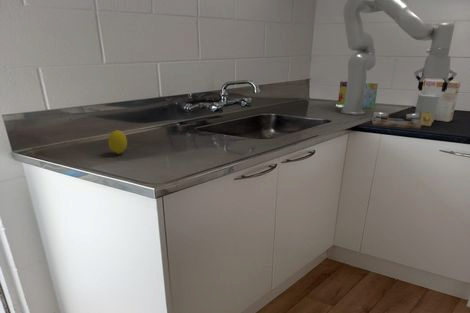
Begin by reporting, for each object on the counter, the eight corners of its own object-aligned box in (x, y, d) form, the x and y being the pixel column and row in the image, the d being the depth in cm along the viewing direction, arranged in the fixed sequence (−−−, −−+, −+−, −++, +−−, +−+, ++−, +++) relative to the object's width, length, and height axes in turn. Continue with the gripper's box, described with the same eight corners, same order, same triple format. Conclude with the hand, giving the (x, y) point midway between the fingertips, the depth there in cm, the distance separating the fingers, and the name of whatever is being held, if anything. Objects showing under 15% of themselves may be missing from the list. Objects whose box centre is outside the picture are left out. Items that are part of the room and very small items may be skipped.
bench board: (373, 125, 159) (373, 122, 158) (371, 120, 168) (371, 118, 167) (420, 128, 154) (420, 126, 153) (415, 124, 163) (416, 121, 162)
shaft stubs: (373, 123, 159) (375, 111, 158) (371, 120, 167) (373, 108, 165) (420, 127, 154) (423, 114, 153) (416, 123, 162) (419, 111, 160)
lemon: (120, 150, 112) (118, 126, 109) (131, 153, 109) (129, 129, 106) (105, 154, 108) (103, 130, 105) (117, 158, 105) (114, 132, 102)
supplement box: (433, 122, 168) (439, 96, 164) (417, 121, 170) (422, 95, 166) (428, 119, 175) (434, 94, 171) (413, 118, 176) (418, 93, 172)
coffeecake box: (452, 120, 173) (461, 81, 167) (448, 122, 168) (457, 82, 162) (420, 115, 183) (427, 78, 176) (416, 117, 178) (423, 79, 171)
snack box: (374, 107, 205) (378, 82, 201) (374, 109, 201) (378, 83, 196) (338, 104, 213) (341, 79, 209) (337, 105, 209) (340, 80, 204)
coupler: (431, 126, 159) (434, 114, 157) (419, 125, 160) (422, 113, 159) (428, 123, 165) (430, 111, 163) (416, 122, 166) (419, 110, 164)
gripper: (419, 52, 151) (412, 90, 156) (463, 53, 147) (455, 93, 152) (416, 51, 158) (409, 89, 163) (458, 52, 154) (449, 91, 159)
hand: (431, 90), depth 158 cm, fingers open, 9 cm apart
